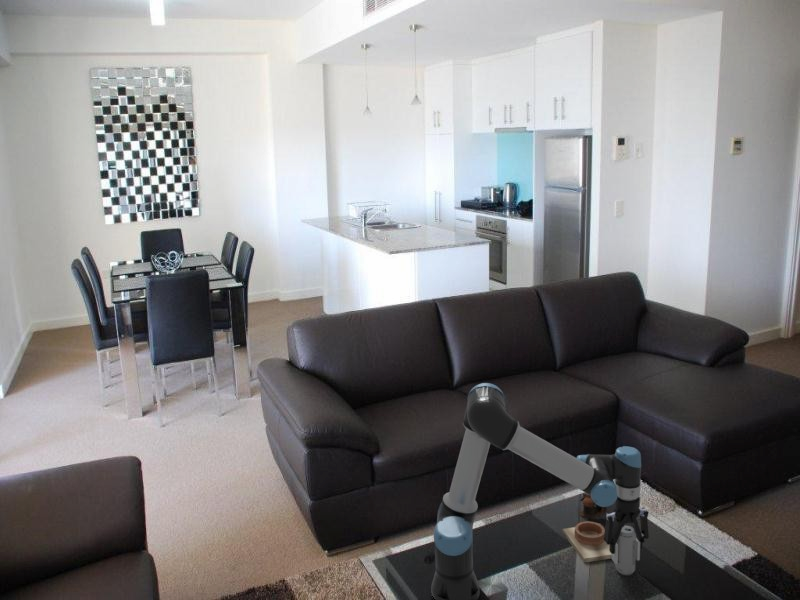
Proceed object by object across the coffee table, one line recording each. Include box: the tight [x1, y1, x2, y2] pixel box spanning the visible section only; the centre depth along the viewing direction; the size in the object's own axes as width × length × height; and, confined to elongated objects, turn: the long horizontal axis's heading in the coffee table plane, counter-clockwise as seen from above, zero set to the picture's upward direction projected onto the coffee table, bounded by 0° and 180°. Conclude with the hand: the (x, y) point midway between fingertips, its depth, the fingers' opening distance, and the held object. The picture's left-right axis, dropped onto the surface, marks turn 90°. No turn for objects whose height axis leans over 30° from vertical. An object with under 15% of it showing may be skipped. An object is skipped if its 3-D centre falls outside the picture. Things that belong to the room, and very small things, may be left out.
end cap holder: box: [562, 520, 612, 563], centre depth 236 cm, size 14×18×4 cm
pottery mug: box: [579, 493, 608, 520], centre depth 255 cm, size 12×10×8 cm
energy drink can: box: [615, 524, 637, 576], centre depth 220 cm, size 6×6×15 cm
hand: (625, 559), depth 221 cm, fingers open, 7 cm apart
